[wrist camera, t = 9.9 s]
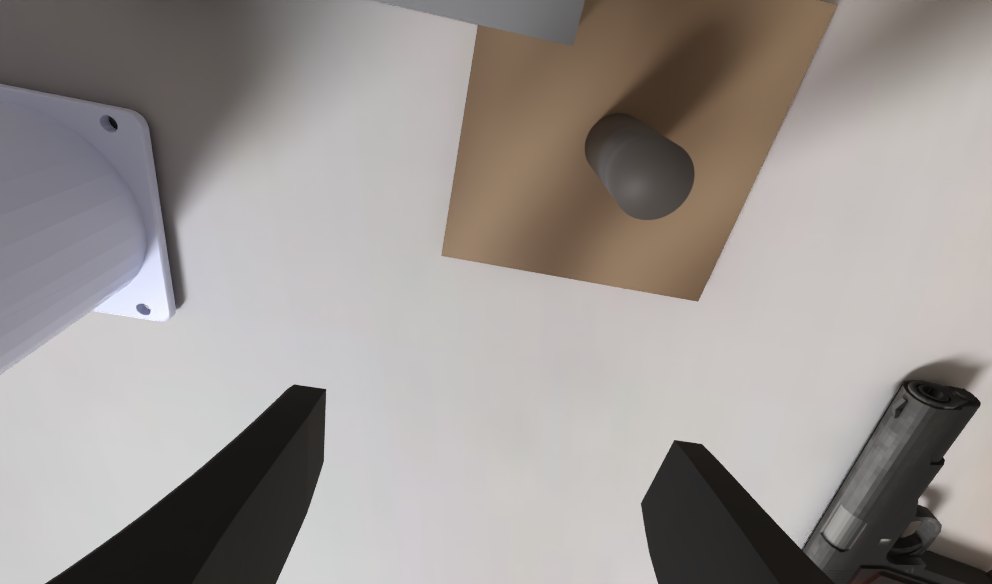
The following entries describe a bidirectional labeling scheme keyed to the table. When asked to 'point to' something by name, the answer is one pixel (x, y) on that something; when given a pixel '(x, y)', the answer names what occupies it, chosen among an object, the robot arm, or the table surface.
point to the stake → (625, 138)
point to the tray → (509, 15)
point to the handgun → (896, 496)
